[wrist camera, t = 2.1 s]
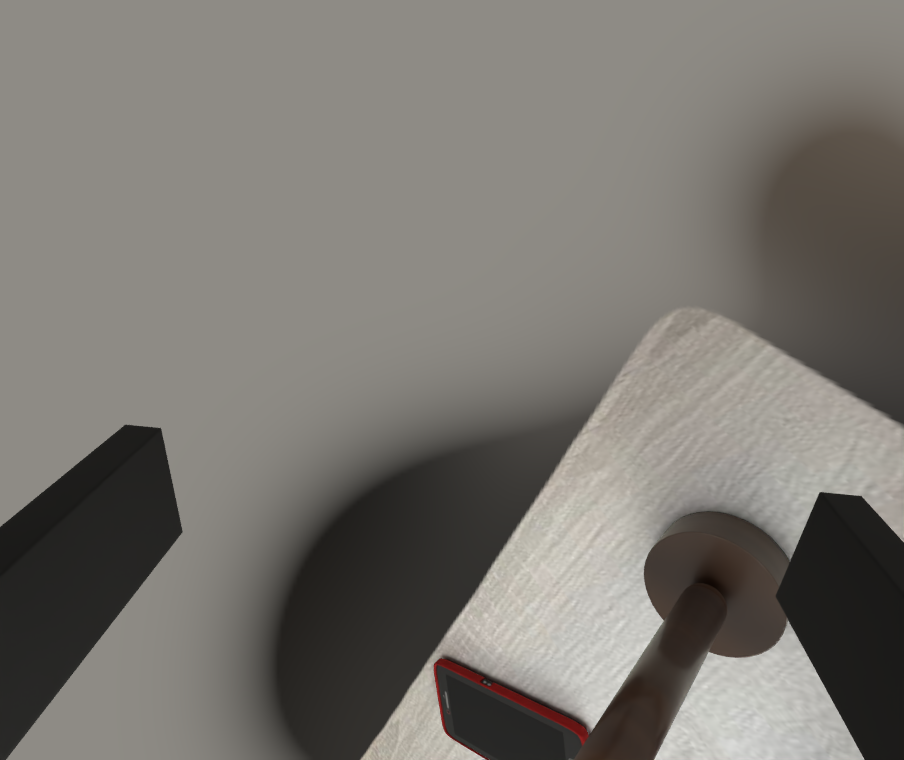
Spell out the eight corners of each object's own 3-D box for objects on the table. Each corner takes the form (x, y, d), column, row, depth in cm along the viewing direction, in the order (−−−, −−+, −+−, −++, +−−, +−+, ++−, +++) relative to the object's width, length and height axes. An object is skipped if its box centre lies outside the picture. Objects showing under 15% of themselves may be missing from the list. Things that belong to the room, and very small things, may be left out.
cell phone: (598, 813, 41) (593, 824, 41) (449, 726, 51) (442, 734, 50) (590, 725, 40) (584, 735, 39) (438, 653, 49) (431, 659, 49)
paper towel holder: (688, 487, 31) (471, 738, 17) (823, 564, 27) (697, 969, 13) (643, 575, 34) (427, 850, 20) (758, 654, 31) (599, 1058, 16)
